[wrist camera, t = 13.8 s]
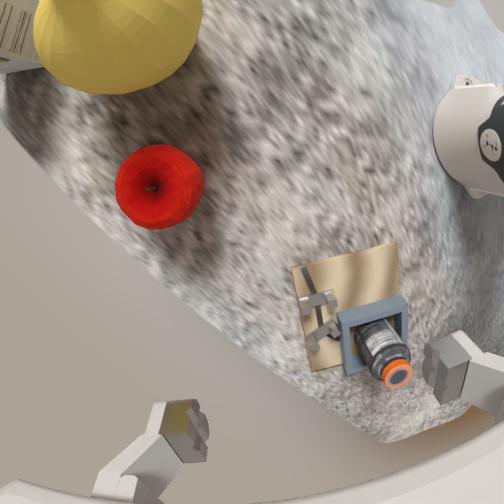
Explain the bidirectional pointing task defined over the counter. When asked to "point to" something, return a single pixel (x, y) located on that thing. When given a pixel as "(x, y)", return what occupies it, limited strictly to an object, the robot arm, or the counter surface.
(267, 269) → the counter surface
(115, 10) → the vase
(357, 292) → the board
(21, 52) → the supplement box
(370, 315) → the end holder
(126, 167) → the apple
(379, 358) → the pill bottle
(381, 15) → the counter surface
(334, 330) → the clips
